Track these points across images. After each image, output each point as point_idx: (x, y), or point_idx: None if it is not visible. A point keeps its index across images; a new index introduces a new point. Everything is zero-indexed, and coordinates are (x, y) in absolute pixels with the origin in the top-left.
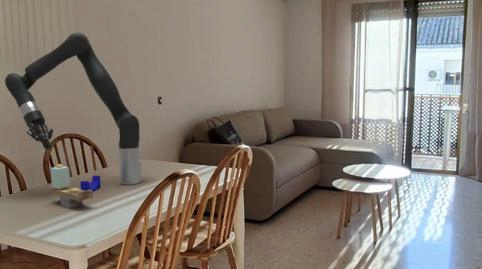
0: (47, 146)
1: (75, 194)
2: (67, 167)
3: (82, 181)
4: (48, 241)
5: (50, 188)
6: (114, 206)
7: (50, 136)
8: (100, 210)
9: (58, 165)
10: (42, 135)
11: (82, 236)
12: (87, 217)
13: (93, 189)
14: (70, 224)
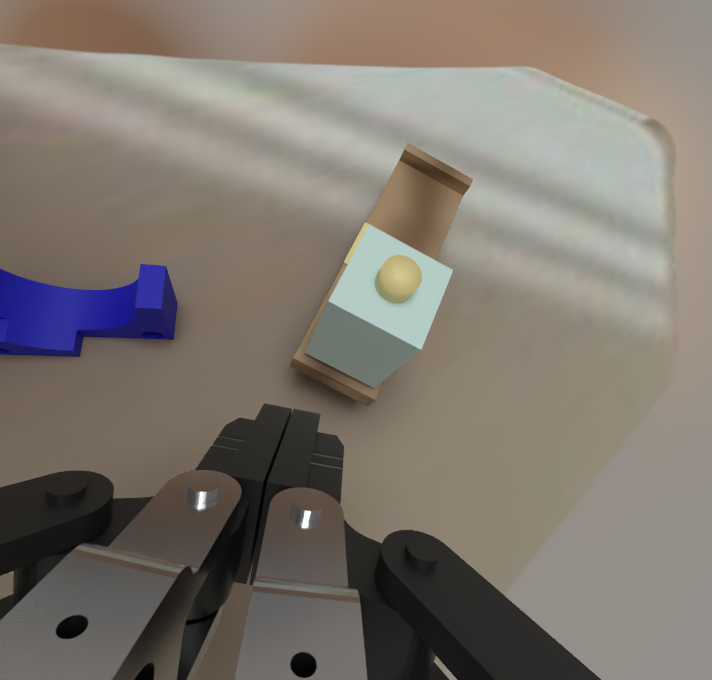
0: (322, 434)
1: (448, 212)
2: (375, 231)
3: (157, 296)
4: (669, 208)
5: (375, 398)
6: (349, 131)
7: (49, 495)
8: None
9: (421, 273)
10: (327, 583)
11: (612, 143)
12: (485, 180)
13: (95, 292)
14: (556, 206)
